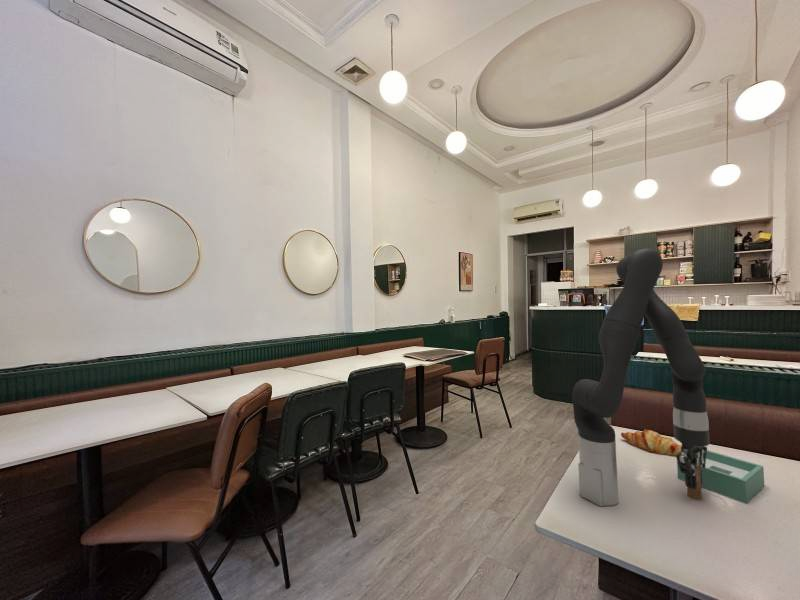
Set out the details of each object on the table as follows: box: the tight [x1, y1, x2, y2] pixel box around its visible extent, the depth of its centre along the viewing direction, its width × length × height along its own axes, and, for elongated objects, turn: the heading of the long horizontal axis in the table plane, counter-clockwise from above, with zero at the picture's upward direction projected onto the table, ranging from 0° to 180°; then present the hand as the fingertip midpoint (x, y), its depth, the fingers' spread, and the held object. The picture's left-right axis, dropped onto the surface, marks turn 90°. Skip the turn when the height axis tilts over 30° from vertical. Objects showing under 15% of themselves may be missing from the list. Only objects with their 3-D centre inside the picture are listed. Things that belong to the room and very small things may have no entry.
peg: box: [686, 462, 703, 501], centre depth 90 cm, size 3×3×10 cm
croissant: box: [620, 428, 682, 456], centre depth 120 cm, size 21×10×8 cm, turn 38°
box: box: [676, 449, 766, 504], centre depth 97 cm, size 15×15×6 cm
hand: (693, 485), depth 90 cm, fingers closed on peg, 3 cm apart
